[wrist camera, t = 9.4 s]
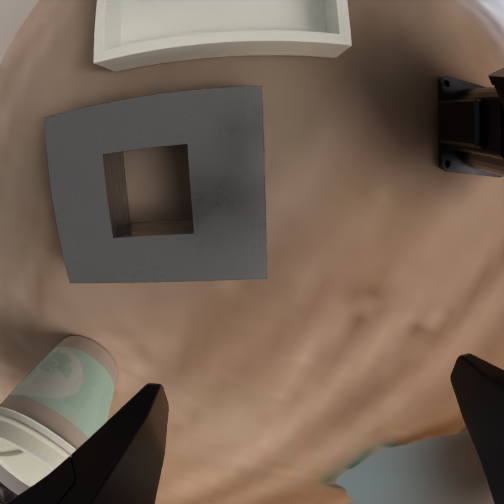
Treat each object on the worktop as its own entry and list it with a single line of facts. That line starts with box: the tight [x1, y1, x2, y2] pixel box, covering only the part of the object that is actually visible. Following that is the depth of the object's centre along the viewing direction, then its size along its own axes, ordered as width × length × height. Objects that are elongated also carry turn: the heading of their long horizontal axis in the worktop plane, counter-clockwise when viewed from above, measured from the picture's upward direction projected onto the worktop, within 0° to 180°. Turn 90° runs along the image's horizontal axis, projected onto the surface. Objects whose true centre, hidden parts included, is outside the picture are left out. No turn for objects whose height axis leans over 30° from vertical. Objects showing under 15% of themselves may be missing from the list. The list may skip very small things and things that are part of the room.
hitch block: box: [45, 86, 267, 283], centre depth 17 cm, size 12×10×3 cm
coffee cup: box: [0, 336, 118, 487], centre depth 18 cm, size 8×9×12 cm
